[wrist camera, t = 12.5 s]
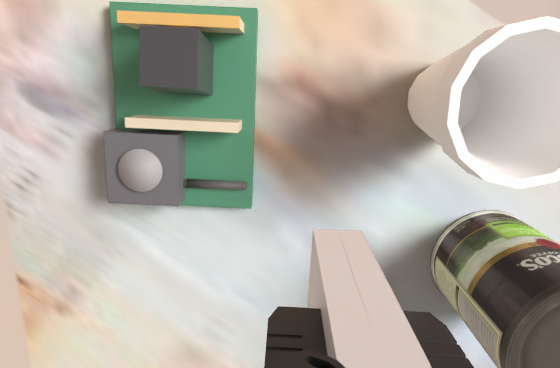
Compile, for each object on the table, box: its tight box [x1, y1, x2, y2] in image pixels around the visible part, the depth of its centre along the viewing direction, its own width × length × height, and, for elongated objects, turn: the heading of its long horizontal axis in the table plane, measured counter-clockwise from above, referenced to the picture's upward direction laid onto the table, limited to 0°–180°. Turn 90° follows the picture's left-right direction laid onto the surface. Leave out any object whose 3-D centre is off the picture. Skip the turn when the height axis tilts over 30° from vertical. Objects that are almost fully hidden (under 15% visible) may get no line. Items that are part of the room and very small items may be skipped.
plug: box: [139, 25, 214, 95], centre depth 30 cm, size 4×4×6 cm
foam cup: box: [407, 16, 560, 189], centre depth 28 cm, size 10×9×13 cm
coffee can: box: [431, 211, 560, 368], centre depth 32 cm, size 10×10×14 cm
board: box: [103, 2, 258, 209], centre depth 33 cm, size 17×12×5 cm
